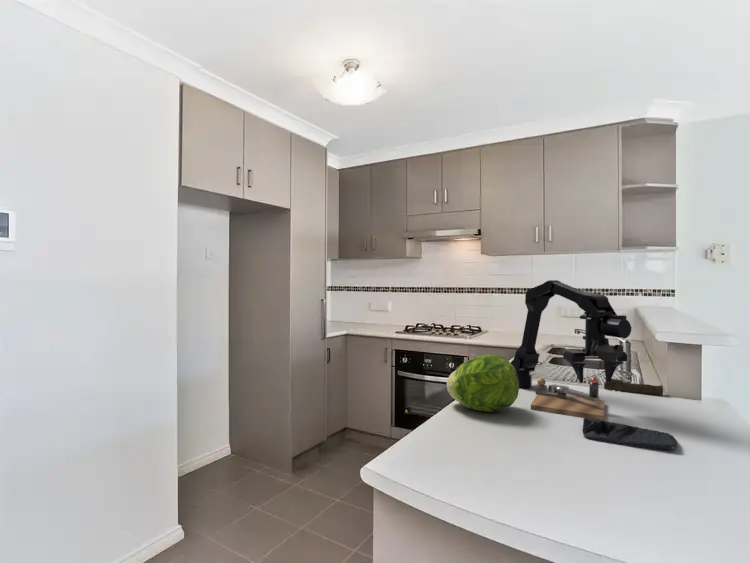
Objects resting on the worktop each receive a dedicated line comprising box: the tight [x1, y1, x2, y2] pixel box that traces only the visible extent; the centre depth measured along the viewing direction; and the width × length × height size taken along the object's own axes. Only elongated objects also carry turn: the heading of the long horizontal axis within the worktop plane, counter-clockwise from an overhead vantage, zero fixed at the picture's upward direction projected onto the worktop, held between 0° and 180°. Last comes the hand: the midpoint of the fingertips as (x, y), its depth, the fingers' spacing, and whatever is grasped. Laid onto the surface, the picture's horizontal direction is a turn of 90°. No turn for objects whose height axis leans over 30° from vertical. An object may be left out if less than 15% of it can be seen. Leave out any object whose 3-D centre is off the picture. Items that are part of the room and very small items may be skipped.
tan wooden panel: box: [530, 377, 606, 421], centre depth 140 cm, size 22×18×7 cm
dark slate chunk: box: [582, 417, 679, 451], centre depth 114 cm, size 15×22×5 cm
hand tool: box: [603, 378, 664, 398], centre depth 159 cm, size 19×4×5 cm, turn 60°
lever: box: [548, 376, 600, 402], centre depth 141 cm, size 18×4×8 cm, turn 27°
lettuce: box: [446, 353, 520, 413], centre depth 137 cm, size 19×23×18 cm
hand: (594, 382), depth 135 cm, fingers open, 9 cm apart
